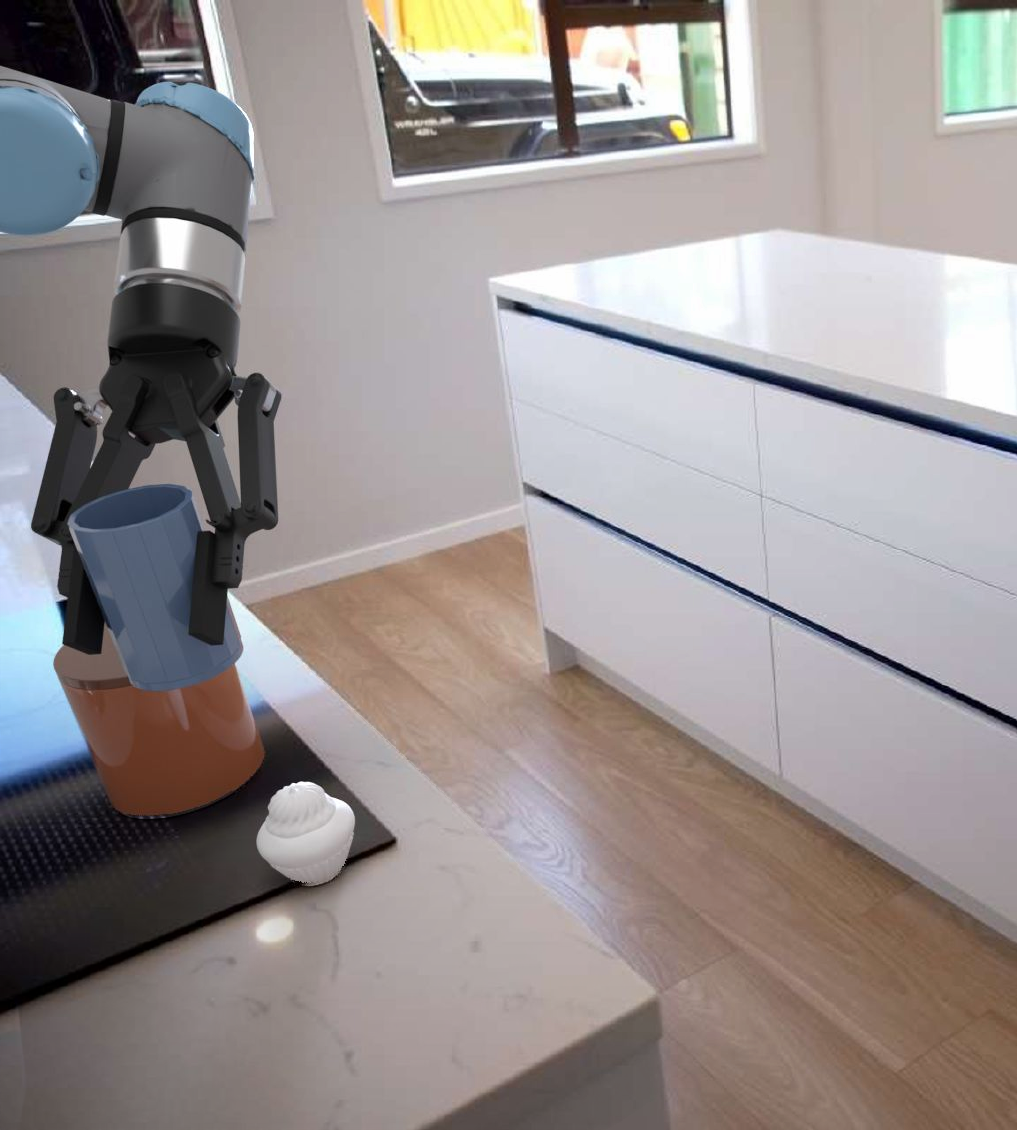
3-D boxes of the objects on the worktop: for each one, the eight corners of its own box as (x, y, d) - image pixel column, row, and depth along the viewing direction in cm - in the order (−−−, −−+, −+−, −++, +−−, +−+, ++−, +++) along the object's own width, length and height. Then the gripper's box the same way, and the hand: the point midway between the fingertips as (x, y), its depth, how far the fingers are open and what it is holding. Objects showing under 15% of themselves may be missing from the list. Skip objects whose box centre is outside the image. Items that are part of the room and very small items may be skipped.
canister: (102, 837, 92) (41, 696, 86) (117, 756, 101) (63, 624, 96) (265, 793, 95) (217, 654, 90) (265, 719, 104) (222, 589, 99)
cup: (123, 702, 79) (59, 541, 73) (134, 651, 84) (76, 498, 79) (242, 674, 81) (188, 515, 76) (245, 626, 86) (195, 475, 81)
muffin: (263, 866, 88) (233, 783, 84) (353, 830, 90) (328, 748, 87) (282, 916, 83) (251, 830, 80) (377, 876, 86) (351, 792, 83)
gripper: (350, 322, 88) (332, 647, 81) (64, 345, 88) (21, 670, 81) (302, 264, 81) (278, 615, 74) (-9, 289, 81) (-62, 641, 74)
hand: (144, 643), depth 78 cm, fingers closed on cup, 7 cm apart
